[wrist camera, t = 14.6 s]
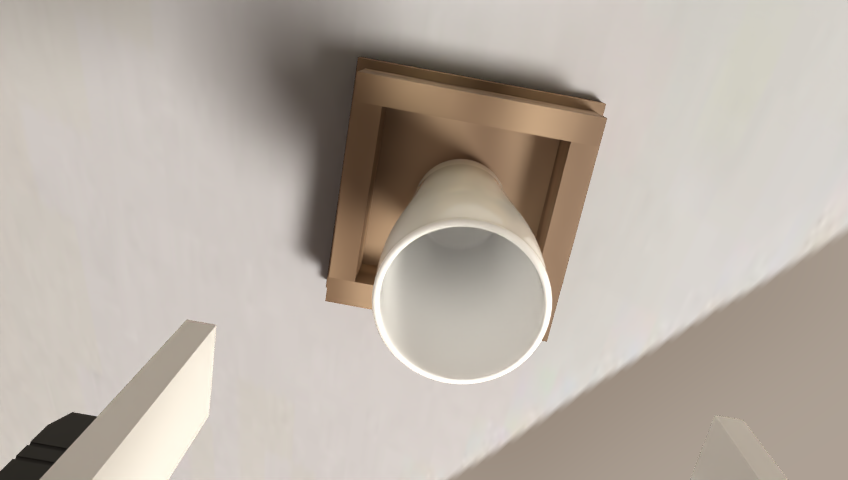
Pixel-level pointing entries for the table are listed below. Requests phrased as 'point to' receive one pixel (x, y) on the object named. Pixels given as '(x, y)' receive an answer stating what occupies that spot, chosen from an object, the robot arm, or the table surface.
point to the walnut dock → (457, 139)
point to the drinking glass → (461, 279)
